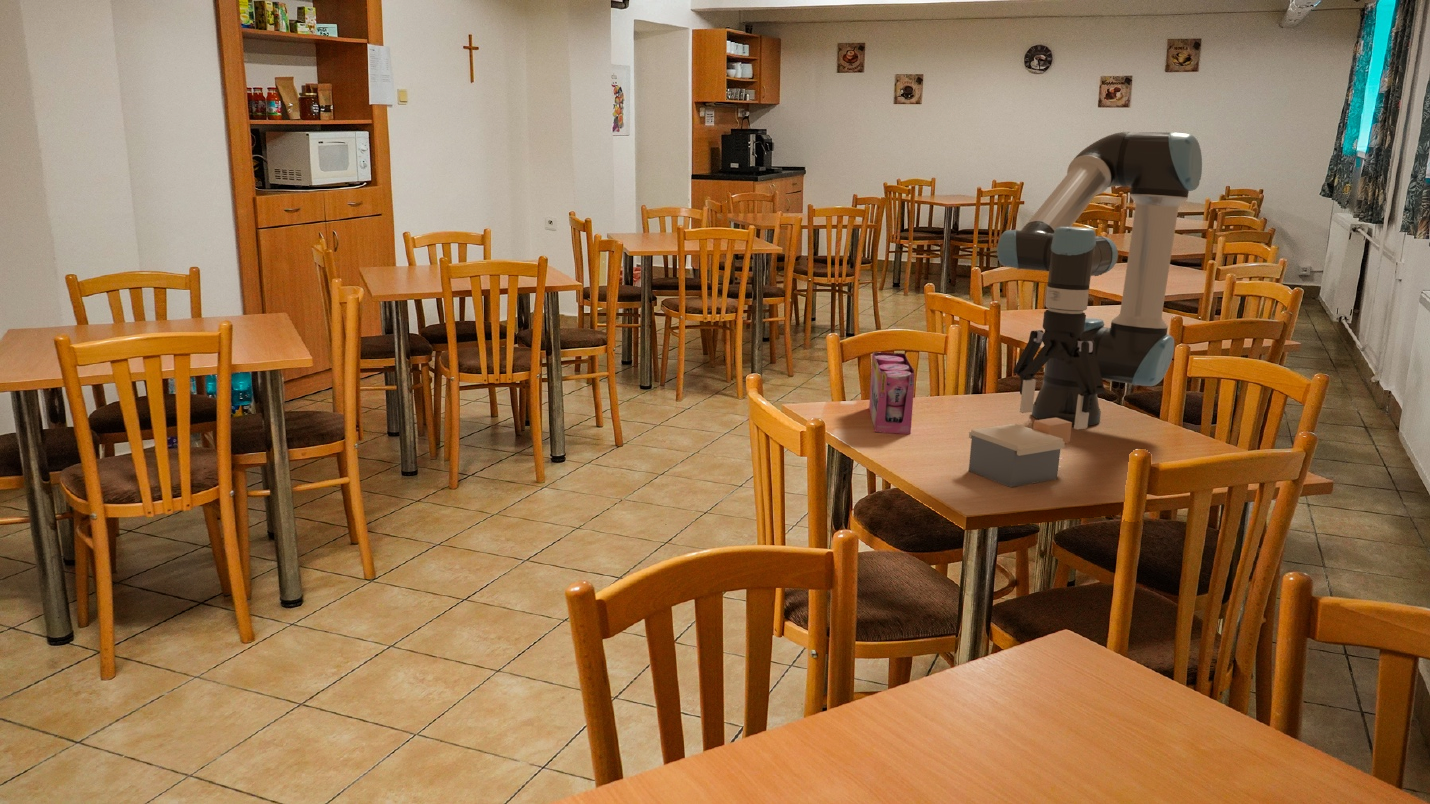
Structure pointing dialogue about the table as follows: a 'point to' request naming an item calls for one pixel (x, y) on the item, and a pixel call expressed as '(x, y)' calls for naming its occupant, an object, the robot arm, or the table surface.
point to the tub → (1012, 464)
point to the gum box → (891, 393)
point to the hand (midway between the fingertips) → (1052, 420)
